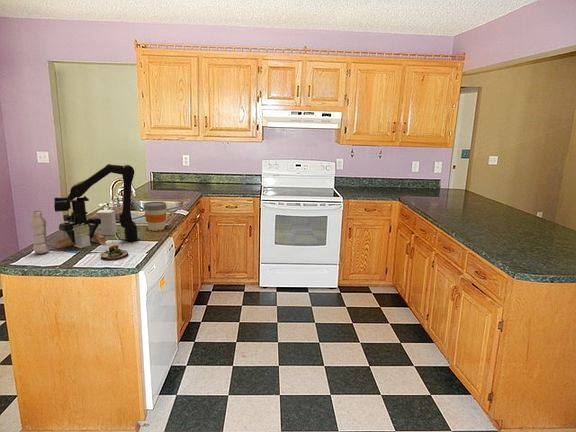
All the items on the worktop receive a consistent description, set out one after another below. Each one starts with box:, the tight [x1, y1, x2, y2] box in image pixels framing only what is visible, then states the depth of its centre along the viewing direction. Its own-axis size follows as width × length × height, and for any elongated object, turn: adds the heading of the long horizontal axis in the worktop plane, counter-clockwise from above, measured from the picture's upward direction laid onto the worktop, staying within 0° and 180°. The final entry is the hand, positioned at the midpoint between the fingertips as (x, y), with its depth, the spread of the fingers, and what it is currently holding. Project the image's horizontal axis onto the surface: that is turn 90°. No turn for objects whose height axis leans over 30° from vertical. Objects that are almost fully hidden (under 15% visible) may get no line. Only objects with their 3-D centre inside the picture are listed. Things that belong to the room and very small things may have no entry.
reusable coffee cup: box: [143, 201, 167, 232], centre depth 231 cm, size 13×13×15 cm
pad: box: [73, 243, 92, 249], centre depth 200 cm, size 6×6×1 cm
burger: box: [100, 240, 129, 260], centre depth 184 cm, size 12×12×8 cm
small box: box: [95, 209, 118, 236], centre depth 219 cm, size 8×6×13 cm
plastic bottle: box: [29, 210, 50, 255], centre depth 185 cm, size 6×7×20 cm
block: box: [74, 233, 91, 248], centre depth 199 cm, size 4×6×5 cm, turn 57°
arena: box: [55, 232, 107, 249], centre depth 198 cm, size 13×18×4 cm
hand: (82, 240), depth 199 cm, fingers open, 9 cm apart
